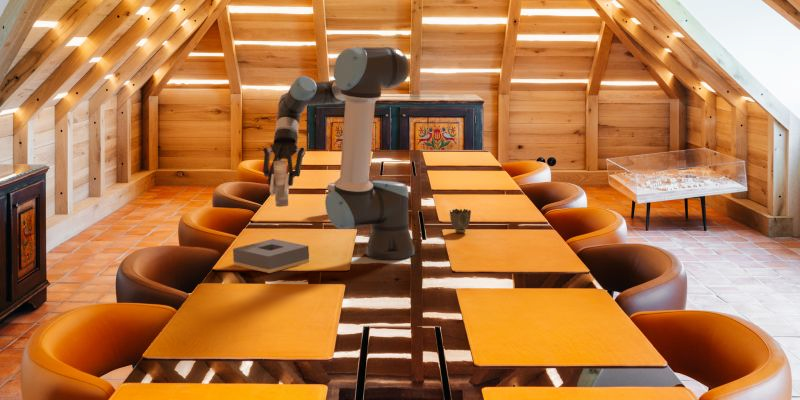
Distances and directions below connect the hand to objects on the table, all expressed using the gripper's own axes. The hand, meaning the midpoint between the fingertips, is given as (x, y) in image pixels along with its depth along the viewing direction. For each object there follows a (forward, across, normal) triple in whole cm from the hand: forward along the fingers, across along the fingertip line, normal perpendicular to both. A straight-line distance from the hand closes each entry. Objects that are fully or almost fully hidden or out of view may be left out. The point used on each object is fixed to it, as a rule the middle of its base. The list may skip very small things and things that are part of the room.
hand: (278, 193), depth 256 cm
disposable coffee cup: (-32, -10, -62) cm, 70 cm away
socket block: (+21, +1, -7) cm, 22 cm away
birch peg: (+1, 0, -6) cm, 6 cm away
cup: (-8, -57, -37) cm, 68 cm away
